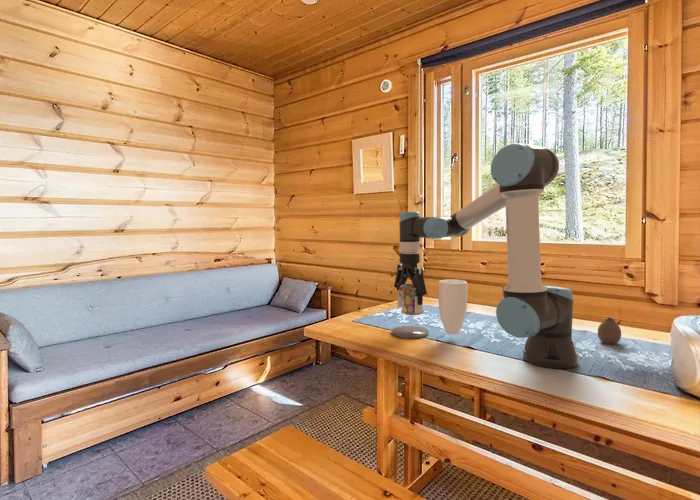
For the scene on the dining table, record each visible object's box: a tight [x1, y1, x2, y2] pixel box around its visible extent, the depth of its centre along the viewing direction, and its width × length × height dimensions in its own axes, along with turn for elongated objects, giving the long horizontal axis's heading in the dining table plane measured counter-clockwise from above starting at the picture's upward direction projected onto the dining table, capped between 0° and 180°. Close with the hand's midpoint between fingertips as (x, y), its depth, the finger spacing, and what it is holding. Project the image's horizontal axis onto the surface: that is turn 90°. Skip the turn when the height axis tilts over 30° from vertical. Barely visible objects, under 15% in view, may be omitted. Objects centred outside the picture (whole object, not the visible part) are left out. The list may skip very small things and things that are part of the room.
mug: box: [399, 283, 425, 316], centre depth 155 cm, size 12×9×11 cm
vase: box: [597, 317, 622, 346], centre depth 140 cm, size 7×7×9 cm
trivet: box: [391, 325, 429, 340], centre depth 156 cm, size 14×14×1 cm
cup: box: [437, 278, 468, 335], centre depth 146 cm, size 10×10×22 cm
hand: (409, 309), depth 155 cm, fingers closed on mug, 11 cm apart
